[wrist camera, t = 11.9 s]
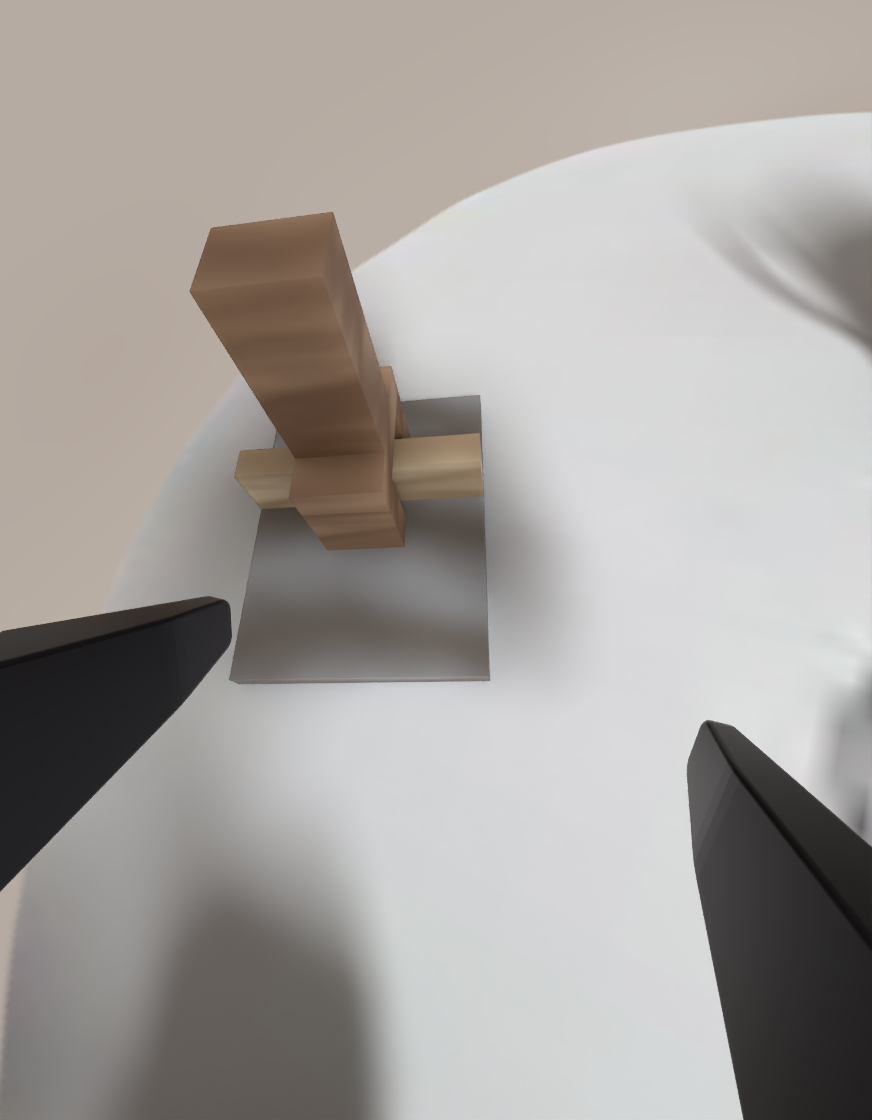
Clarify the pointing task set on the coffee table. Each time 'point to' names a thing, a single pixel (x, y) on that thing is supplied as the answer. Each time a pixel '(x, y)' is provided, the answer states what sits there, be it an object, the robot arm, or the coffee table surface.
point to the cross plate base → (373, 569)
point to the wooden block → (310, 370)
